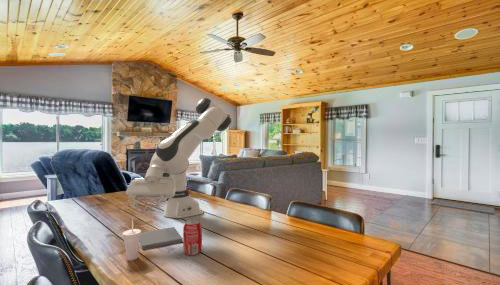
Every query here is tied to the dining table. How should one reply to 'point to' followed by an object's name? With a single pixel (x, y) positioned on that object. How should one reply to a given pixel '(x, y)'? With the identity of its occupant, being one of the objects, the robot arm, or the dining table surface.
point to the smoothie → (131, 242)
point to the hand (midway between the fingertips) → (146, 205)
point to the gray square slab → (159, 238)
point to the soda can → (192, 237)
